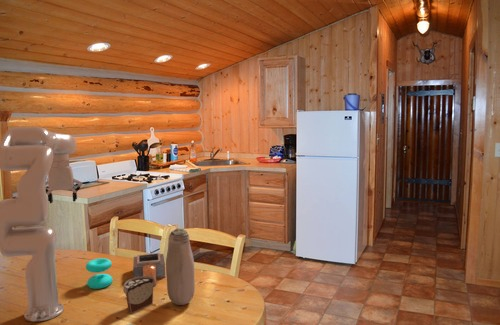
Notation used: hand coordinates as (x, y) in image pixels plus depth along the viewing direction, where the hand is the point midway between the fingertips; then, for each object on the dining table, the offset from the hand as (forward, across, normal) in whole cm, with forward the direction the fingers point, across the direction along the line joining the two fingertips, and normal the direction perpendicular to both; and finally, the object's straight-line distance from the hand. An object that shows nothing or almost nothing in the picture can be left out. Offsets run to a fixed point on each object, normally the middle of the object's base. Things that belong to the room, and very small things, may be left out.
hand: (63, 201), depth 186 cm
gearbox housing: (+31, +36, -18) cm, 51 cm away
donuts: (+31, +16, -24) cm, 43 cm away
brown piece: (+31, +31, -48) cm, 65 cm away
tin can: (+31, +36, -32) cm, 57 cm away
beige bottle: (+31, +47, -51) cm, 76 cm away
